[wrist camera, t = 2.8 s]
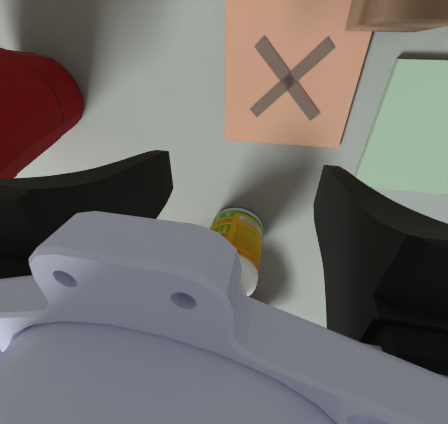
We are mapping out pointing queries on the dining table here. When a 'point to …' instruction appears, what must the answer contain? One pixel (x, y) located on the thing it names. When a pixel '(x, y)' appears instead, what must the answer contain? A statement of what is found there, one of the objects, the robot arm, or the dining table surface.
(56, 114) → the plastic cup
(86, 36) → the dining table surface
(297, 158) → the dining table surface
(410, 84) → the tile
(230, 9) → the tile
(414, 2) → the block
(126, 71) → the dining table surface
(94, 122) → the dining table surface
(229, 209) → the supplement bottle
